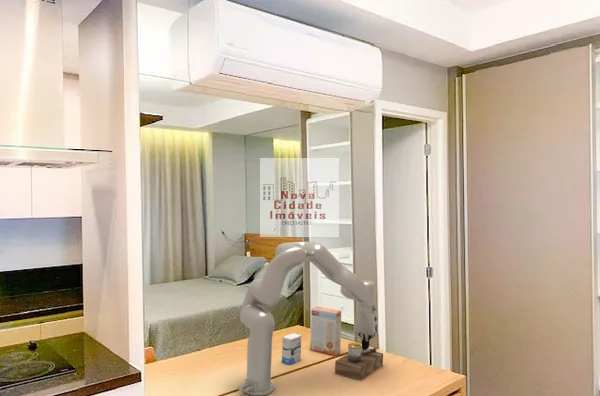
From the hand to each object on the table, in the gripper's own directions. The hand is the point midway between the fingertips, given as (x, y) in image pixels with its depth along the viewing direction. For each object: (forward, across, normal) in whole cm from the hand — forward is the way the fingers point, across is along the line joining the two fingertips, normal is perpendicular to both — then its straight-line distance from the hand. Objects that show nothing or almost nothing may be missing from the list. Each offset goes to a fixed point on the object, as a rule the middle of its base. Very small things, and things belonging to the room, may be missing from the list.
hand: (365, 348), depth 206 cm
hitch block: (+8, 0, +4) cm, 9 cm away
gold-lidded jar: (+8, 0, +10) cm, 12 cm away
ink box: (+8, +29, +16) cm, 35 cm away
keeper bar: (+2, 0, -1) cm, 2 cm away
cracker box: (+8, +24, -4) cm, 26 cm away
